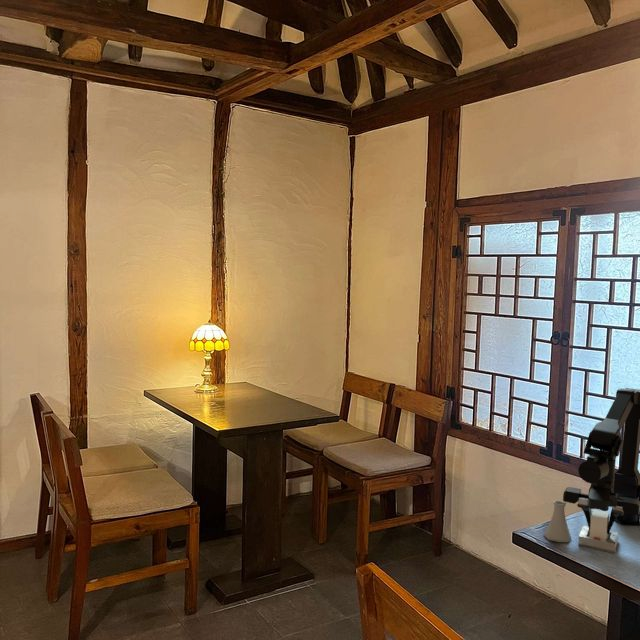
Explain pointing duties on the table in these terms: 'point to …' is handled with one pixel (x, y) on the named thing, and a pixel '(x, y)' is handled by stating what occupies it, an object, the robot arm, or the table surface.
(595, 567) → the table surface
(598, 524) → the plug
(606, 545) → the socket
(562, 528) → the flask
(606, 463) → the robot arm
